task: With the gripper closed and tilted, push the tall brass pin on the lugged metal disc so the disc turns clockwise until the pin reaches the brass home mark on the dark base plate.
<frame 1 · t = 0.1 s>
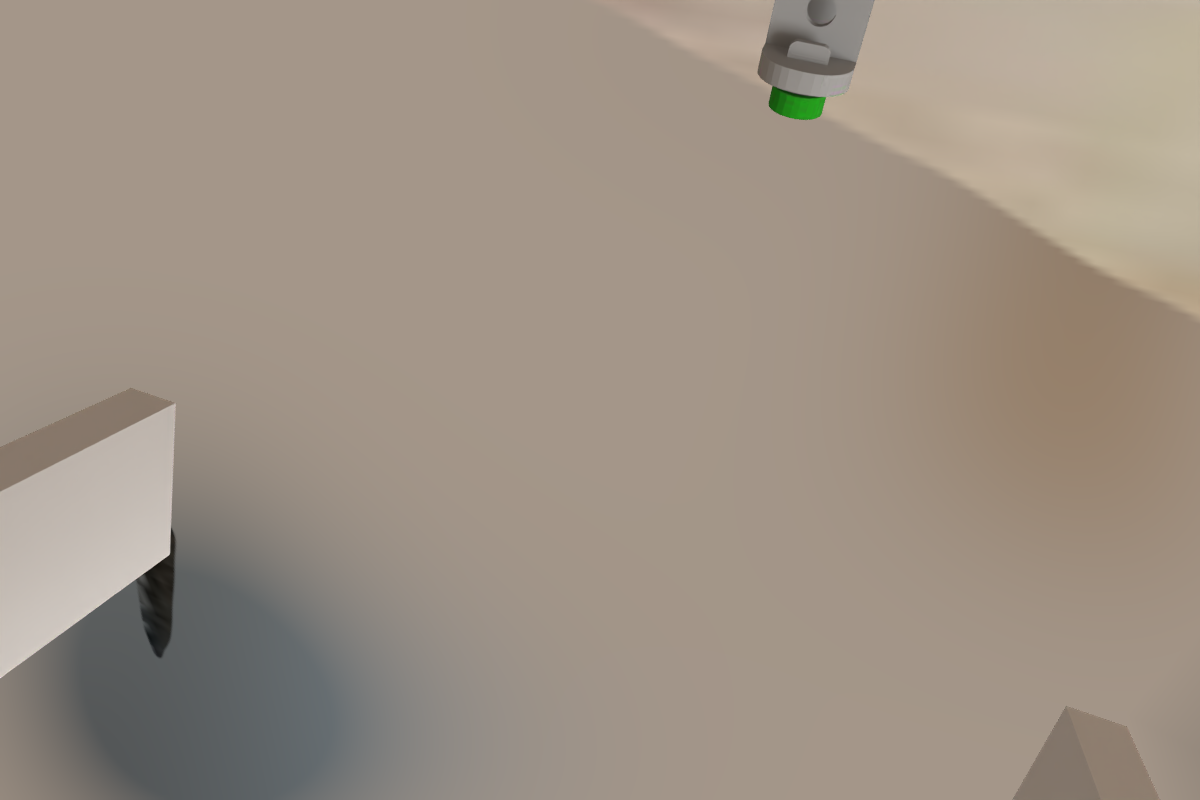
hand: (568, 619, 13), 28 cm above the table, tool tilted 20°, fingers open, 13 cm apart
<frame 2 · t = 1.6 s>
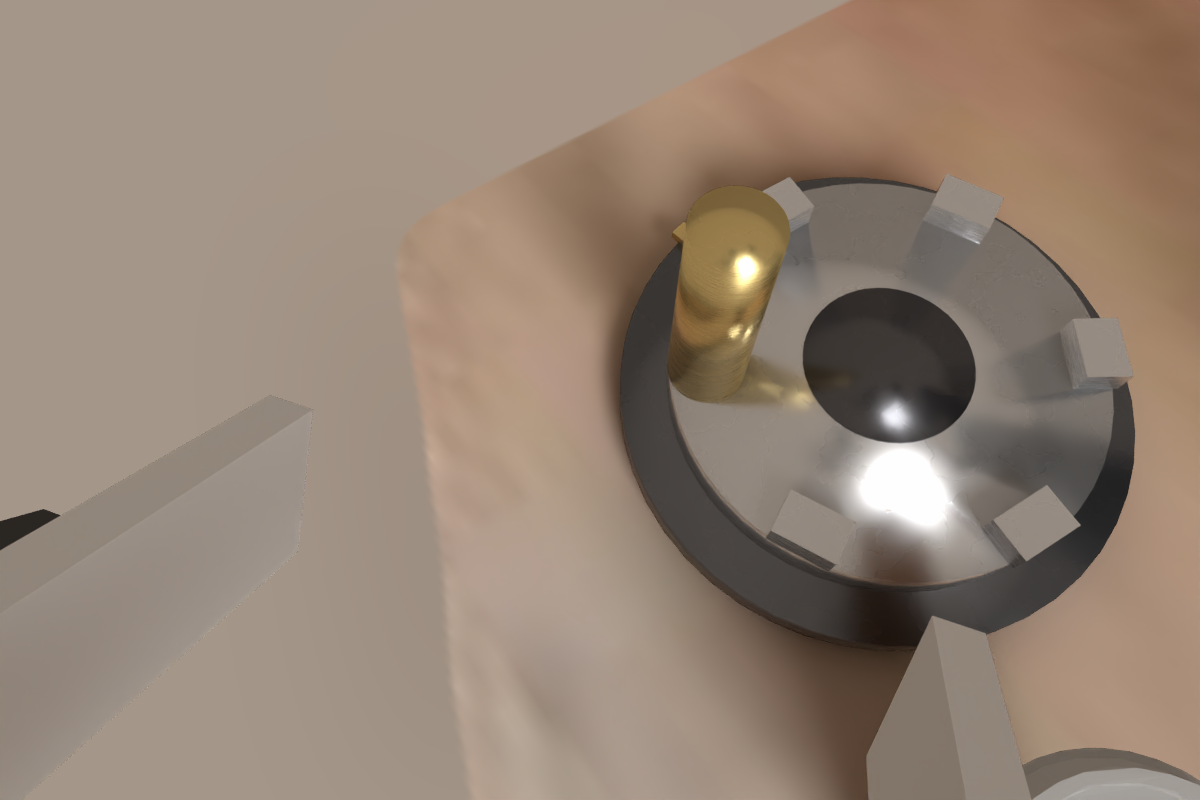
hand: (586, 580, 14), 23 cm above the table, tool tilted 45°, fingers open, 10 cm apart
lugged metal disc: (919, 317, 32), point 8 cm above the table, hinge at 20.0°
base plate: (864, 398, 40), on the table
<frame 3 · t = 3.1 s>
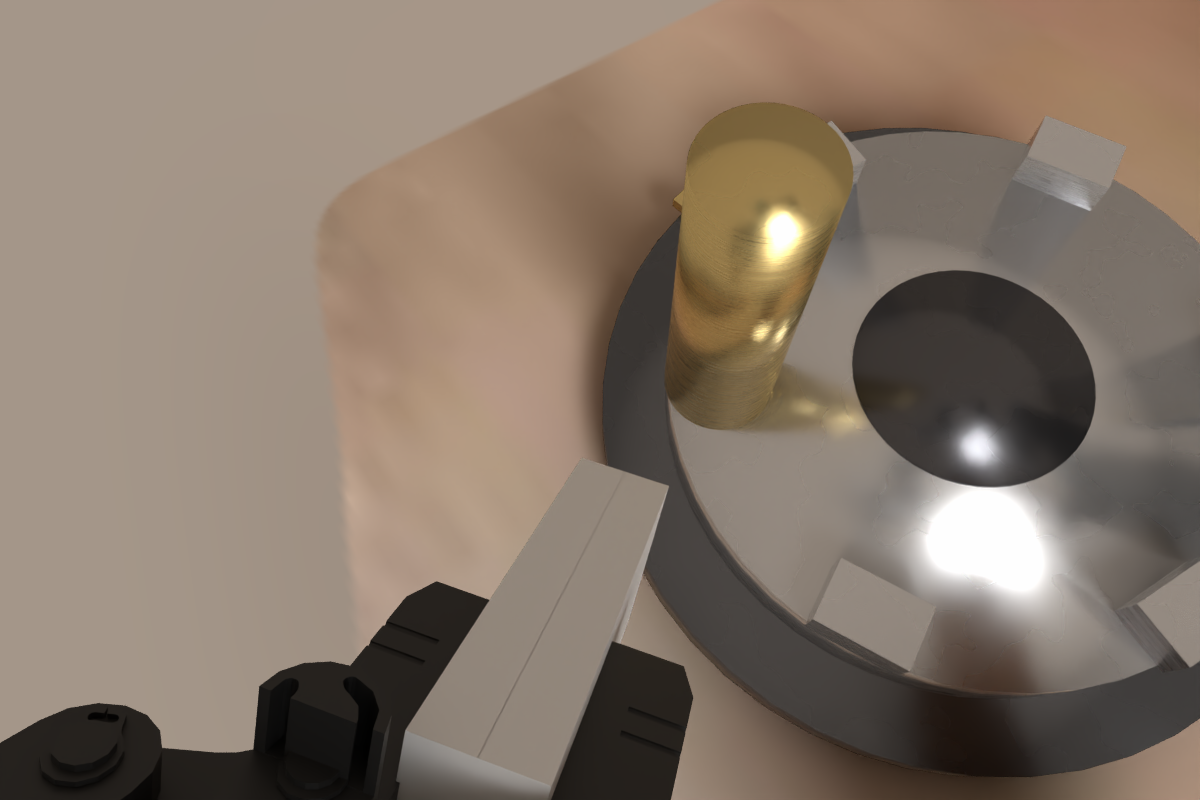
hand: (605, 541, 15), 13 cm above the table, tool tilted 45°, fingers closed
lugged metal disc: (1028, 309, 22), point 8 cm above the table, hinge at 20.0°
base plate: (930, 420, 29), on the table
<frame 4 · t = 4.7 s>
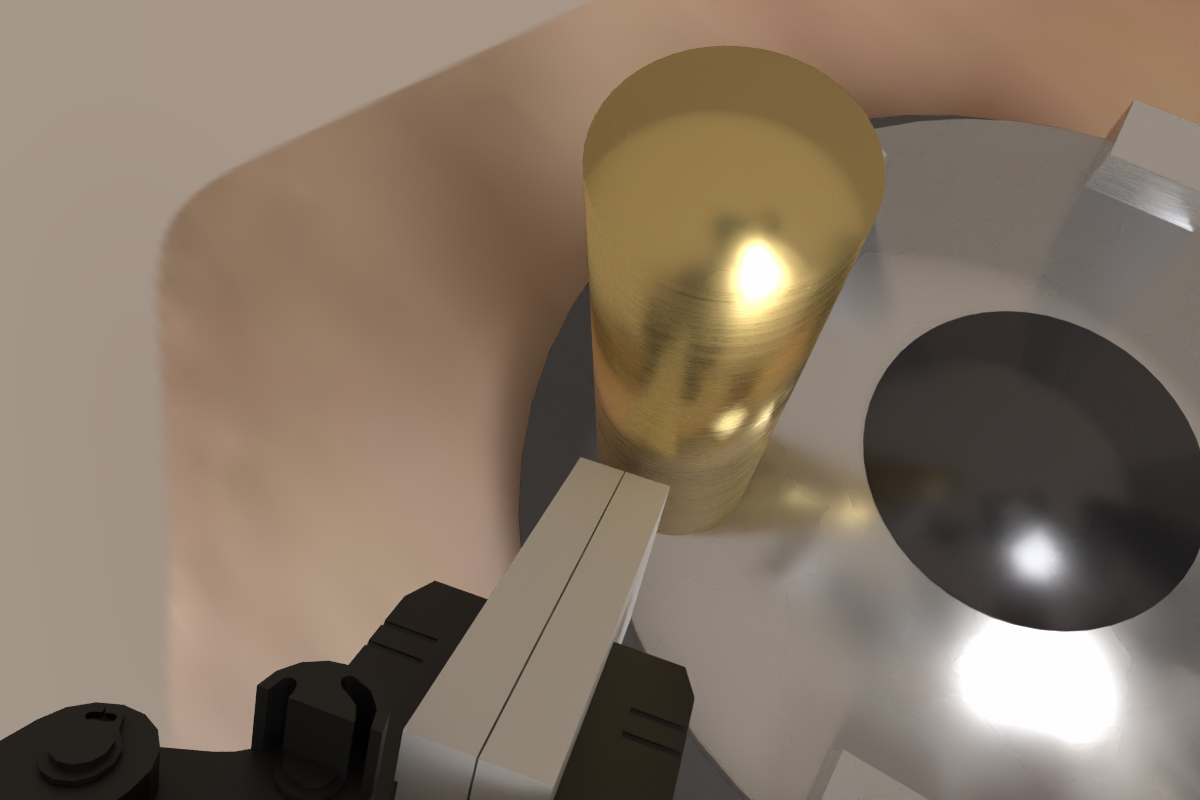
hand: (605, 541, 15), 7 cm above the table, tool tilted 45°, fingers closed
lugged metal disc: (1135, 385, 15), point 8 cm above the table, hinge at 19.3°, touching gripper
base plate: (965, 508, 22), on the table
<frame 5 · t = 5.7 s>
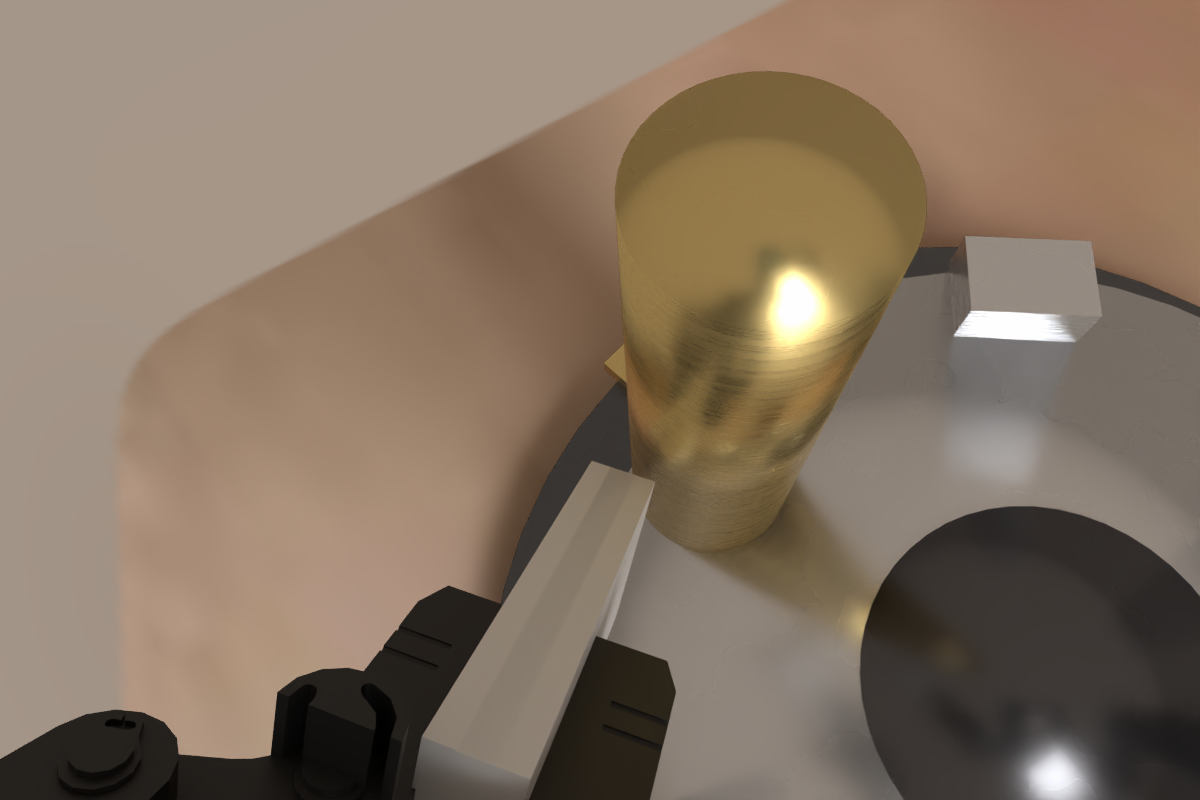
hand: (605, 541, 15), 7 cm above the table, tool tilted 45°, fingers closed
lugged metal disc: (1165, 670, 13), point 8 cm above the table, hinge at -15.2°, touching gripper
base plate: (980, 700, 20), on the table
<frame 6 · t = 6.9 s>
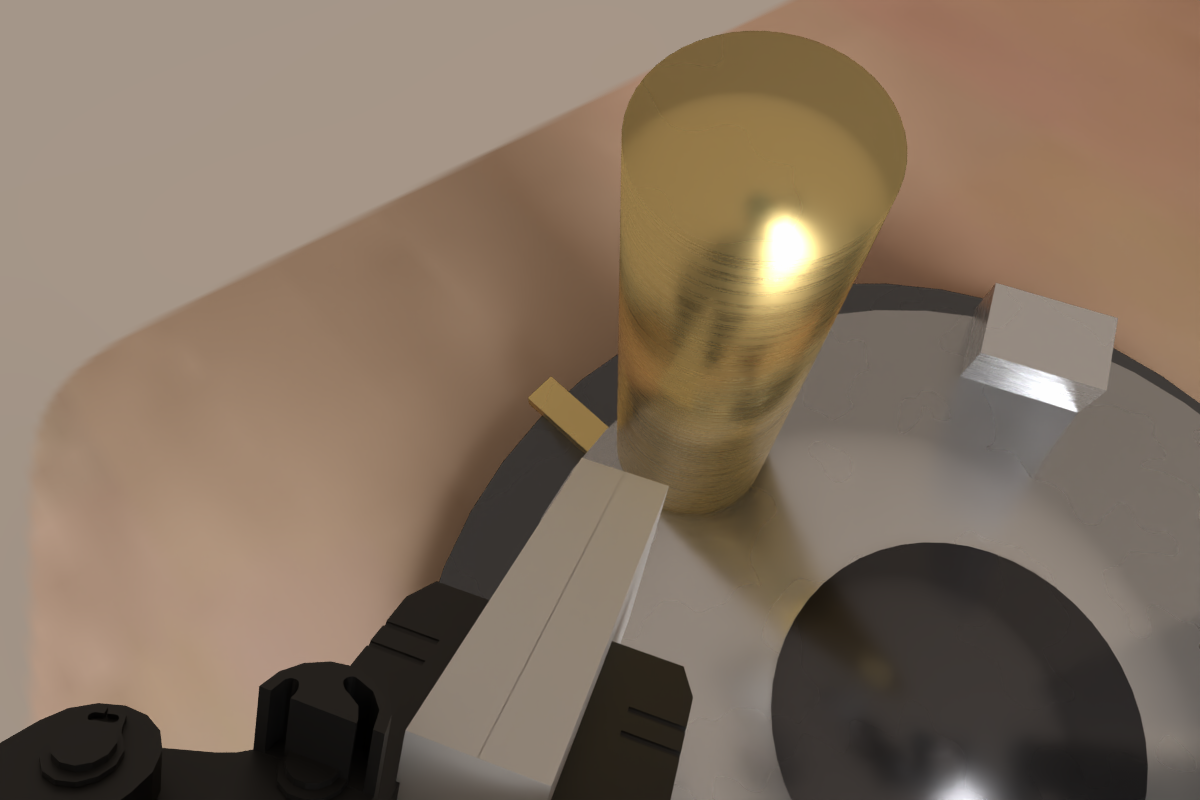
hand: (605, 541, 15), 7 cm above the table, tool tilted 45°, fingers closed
lugged metal disc: (1050, 710, 13), point 8 cm above the table, hinge at -31.3°
base plate: (896, 731, 20), on the table
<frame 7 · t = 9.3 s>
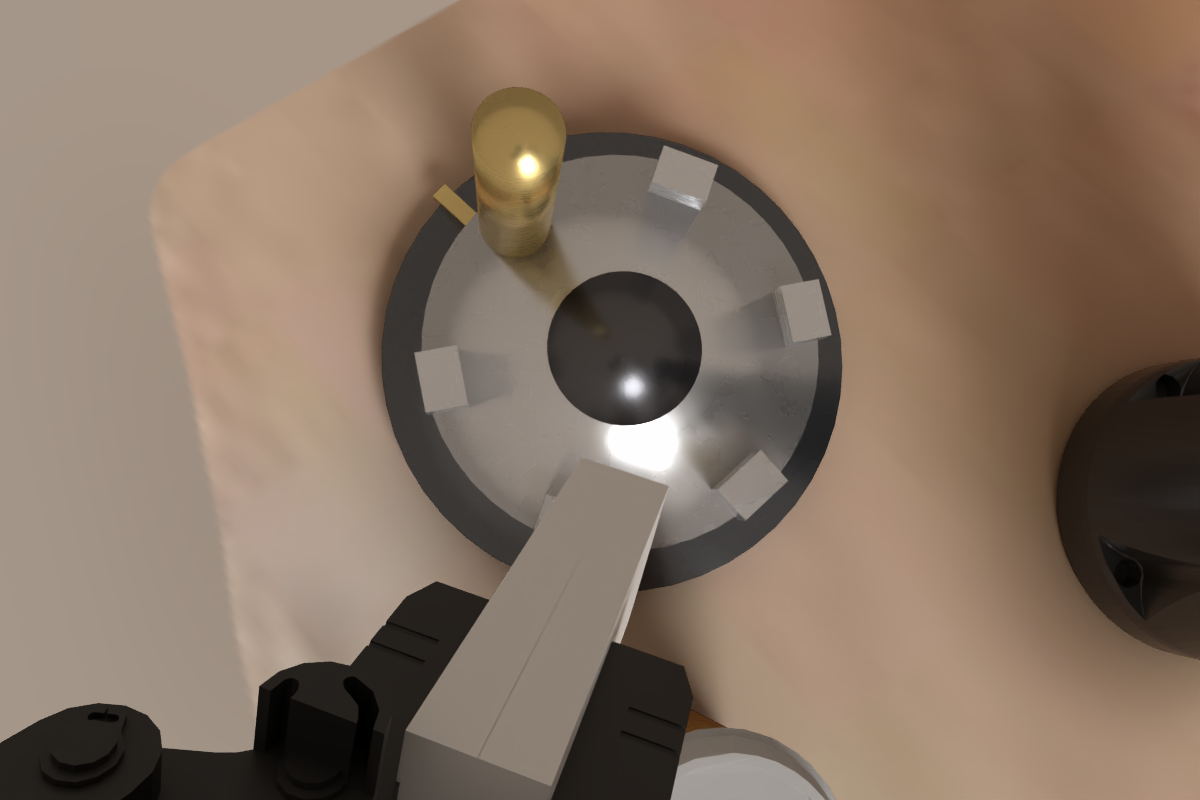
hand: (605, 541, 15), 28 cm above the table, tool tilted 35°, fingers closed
lugged metal disc: (638, 331, 35), point 8 cm above the table, hinge at -31.3°
disposable coffee cup: (664, 771, 41), on the table
base plate: (614, 360, 43), on the table
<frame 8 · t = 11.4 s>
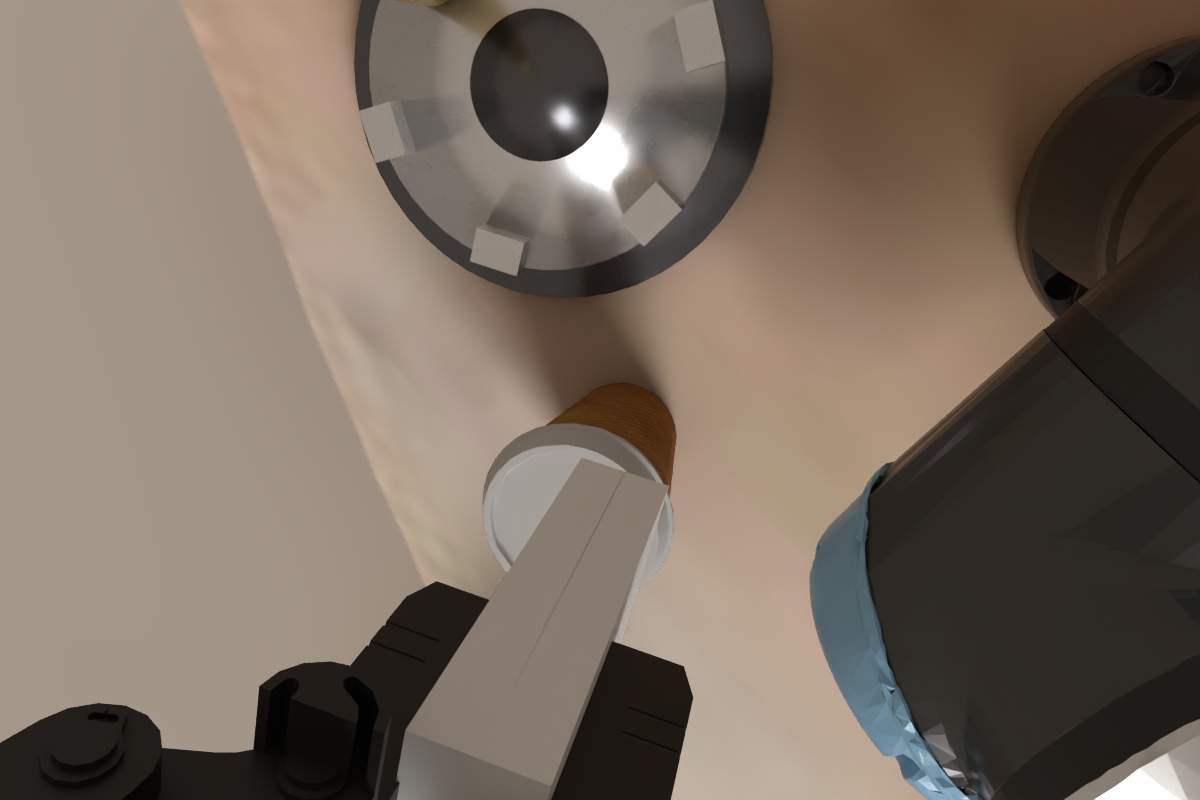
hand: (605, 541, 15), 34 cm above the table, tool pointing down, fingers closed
lugged metal disc: (511, 88, 39), point 8 cm above the table, hinge at -31.3°
disposable coffee cup: (624, 431, 52), on the table
base plate: (560, 85, 46), on the table
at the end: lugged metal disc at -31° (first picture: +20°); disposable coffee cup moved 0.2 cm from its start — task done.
